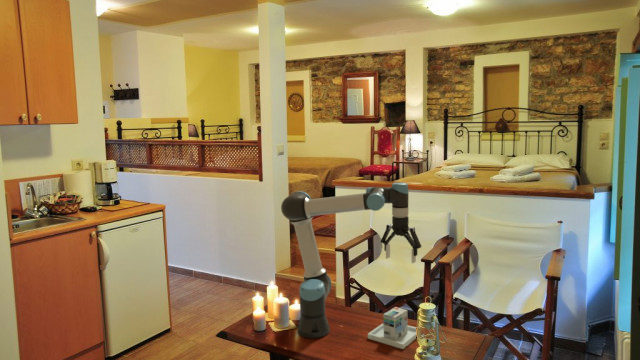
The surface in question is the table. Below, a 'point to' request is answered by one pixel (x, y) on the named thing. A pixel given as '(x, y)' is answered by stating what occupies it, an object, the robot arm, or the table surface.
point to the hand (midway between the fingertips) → (400, 260)
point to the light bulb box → (395, 323)
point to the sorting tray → (399, 343)
